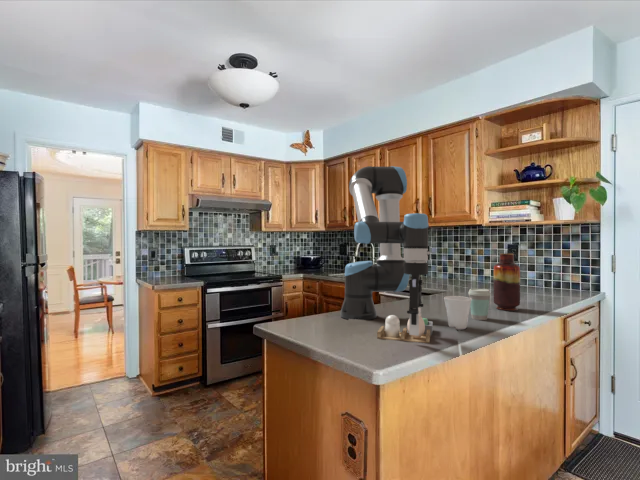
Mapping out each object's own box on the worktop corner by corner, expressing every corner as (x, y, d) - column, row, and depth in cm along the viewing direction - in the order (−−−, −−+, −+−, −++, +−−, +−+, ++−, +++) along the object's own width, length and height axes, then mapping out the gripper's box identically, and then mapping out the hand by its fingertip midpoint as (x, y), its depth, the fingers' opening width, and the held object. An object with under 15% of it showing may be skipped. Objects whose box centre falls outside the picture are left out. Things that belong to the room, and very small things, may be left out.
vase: (498, 306, 175) (498, 253, 175) (523, 309, 167) (523, 253, 167) (490, 309, 167) (490, 253, 167) (516, 312, 159) (516, 254, 159)
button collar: (410, 336, 120) (410, 324, 120) (412, 331, 127) (412, 319, 127) (432, 338, 118) (432, 326, 118) (432, 332, 124) (432, 321, 124)
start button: (415, 332, 121) (415, 319, 121) (416, 330, 125) (416, 317, 125) (427, 334, 120) (427, 320, 120) (428, 331, 123) (428, 318, 123)
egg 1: (384, 337, 115) (384, 315, 115) (386, 333, 120) (386, 313, 120) (398, 338, 114) (398, 316, 114) (400, 334, 118) (400, 314, 118)
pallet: (377, 341, 114) (377, 331, 114) (381, 334, 122) (381, 325, 122) (429, 346, 109) (429, 336, 109) (430, 338, 117) (430, 329, 117)
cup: (471, 325, 135) (471, 296, 135) (473, 332, 126) (473, 301, 126) (443, 323, 138) (443, 295, 138) (443, 329, 129) (443, 299, 129)
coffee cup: (486, 316, 151) (486, 288, 151) (494, 321, 142) (494, 291, 142) (465, 316, 152) (465, 288, 152) (471, 320, 143) (471, 291, 143)
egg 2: (407, 340, 112) (407, 314, 112) (406, 335, 117) (406, 311, 117) (425, 340, 111) (426, 315, 111) (423, 336, 116) (423, 312, 116)
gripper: (426, 264, 102) (425, 341, 101) (429, 260, 124) (429, 323, 123) (399, 263, 104) (399, 338, 104) (407, 260, 126) (407, 322, 126)
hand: (415, 330), depth 114 cm, fingers open, 11 cm apart
